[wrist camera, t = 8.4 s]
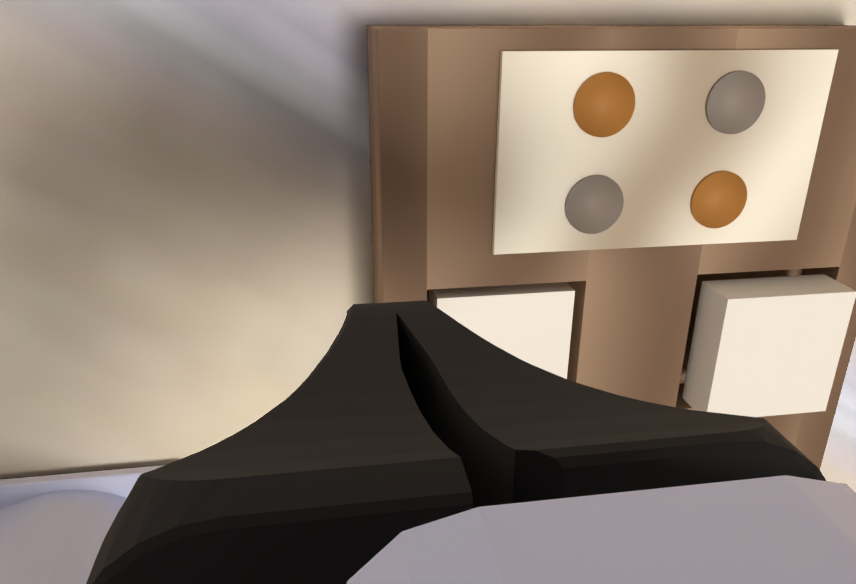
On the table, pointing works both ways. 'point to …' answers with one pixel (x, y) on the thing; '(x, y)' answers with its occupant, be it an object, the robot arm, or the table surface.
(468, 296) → the button
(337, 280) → the table surface
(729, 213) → the button board
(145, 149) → the table surface
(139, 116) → the table surface
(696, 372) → the button
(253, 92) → the table surface
